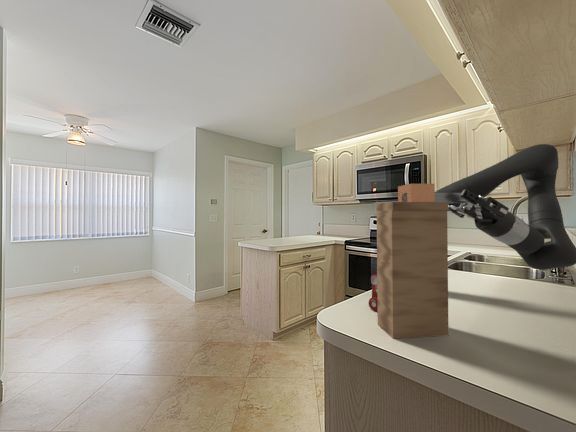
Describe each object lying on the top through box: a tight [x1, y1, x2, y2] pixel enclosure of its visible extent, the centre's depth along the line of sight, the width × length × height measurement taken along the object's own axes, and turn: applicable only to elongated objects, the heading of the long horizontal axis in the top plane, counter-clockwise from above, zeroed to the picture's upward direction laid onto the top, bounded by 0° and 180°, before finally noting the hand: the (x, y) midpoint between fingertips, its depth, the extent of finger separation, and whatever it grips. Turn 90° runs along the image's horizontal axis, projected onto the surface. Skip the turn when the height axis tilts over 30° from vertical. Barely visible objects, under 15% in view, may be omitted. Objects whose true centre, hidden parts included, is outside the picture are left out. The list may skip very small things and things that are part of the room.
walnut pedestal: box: [375, 201, 449, 340], centre depth 66 cm, size 9×14×32 cm, turn 96°
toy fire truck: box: [368, 274, 378, 312], centre depth 78 cm, size 7×12×10 cm, turn 31°
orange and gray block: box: [397, 183, 469, 203], centre depth 66 cm, size 6×17×4 cm, turn 96°
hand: (451, 194), depth 67 cm, fingers open, 7 cm apart
